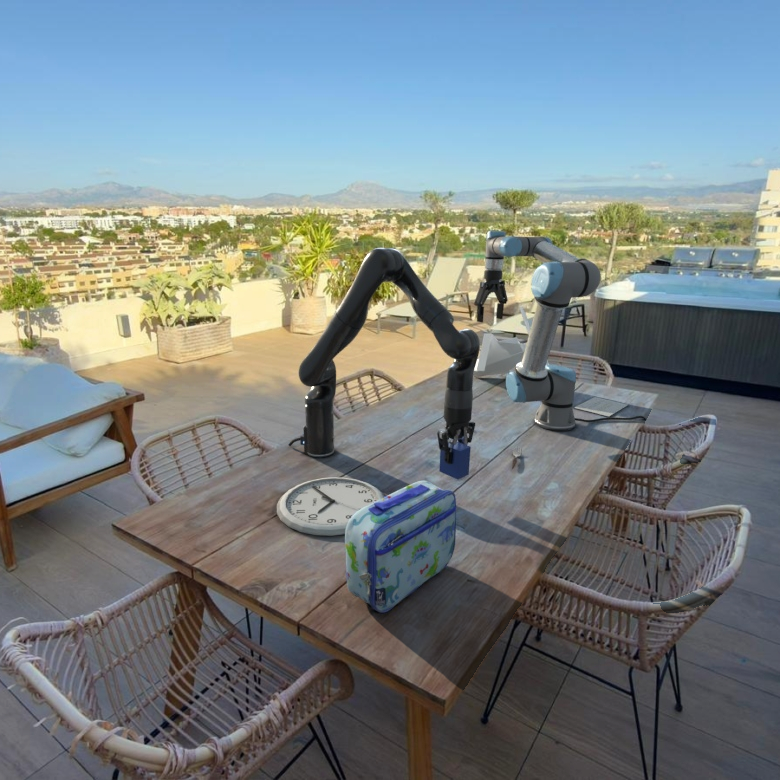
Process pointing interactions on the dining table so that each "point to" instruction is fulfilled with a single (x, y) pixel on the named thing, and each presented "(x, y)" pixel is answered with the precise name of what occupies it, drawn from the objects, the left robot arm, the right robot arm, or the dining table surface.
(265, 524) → the dining table surface
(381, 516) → the lunch box
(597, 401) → the invitation card
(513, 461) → the fork
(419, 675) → the dining table surface
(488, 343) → the white plastic object
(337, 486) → the wall clock
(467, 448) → the block
